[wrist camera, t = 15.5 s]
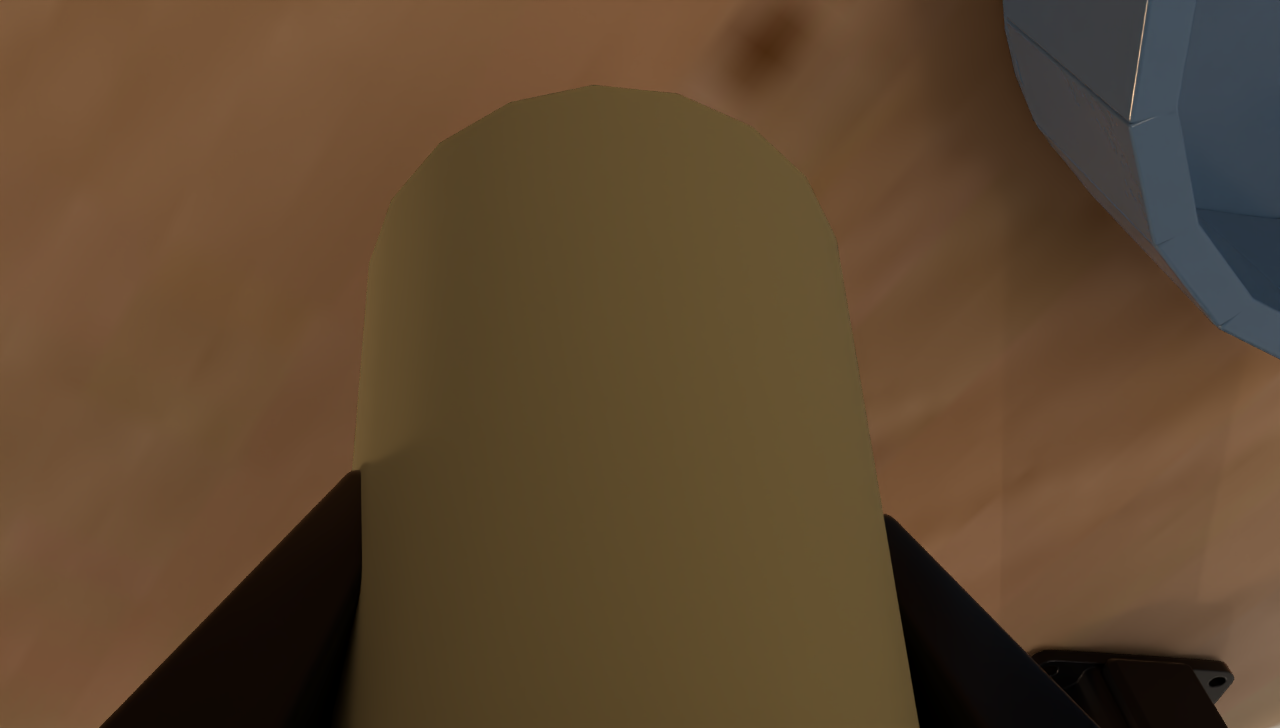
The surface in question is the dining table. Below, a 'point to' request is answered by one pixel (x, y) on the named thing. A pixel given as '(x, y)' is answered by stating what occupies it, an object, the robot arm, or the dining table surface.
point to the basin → (1170, 135)
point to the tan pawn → (615, 438)
